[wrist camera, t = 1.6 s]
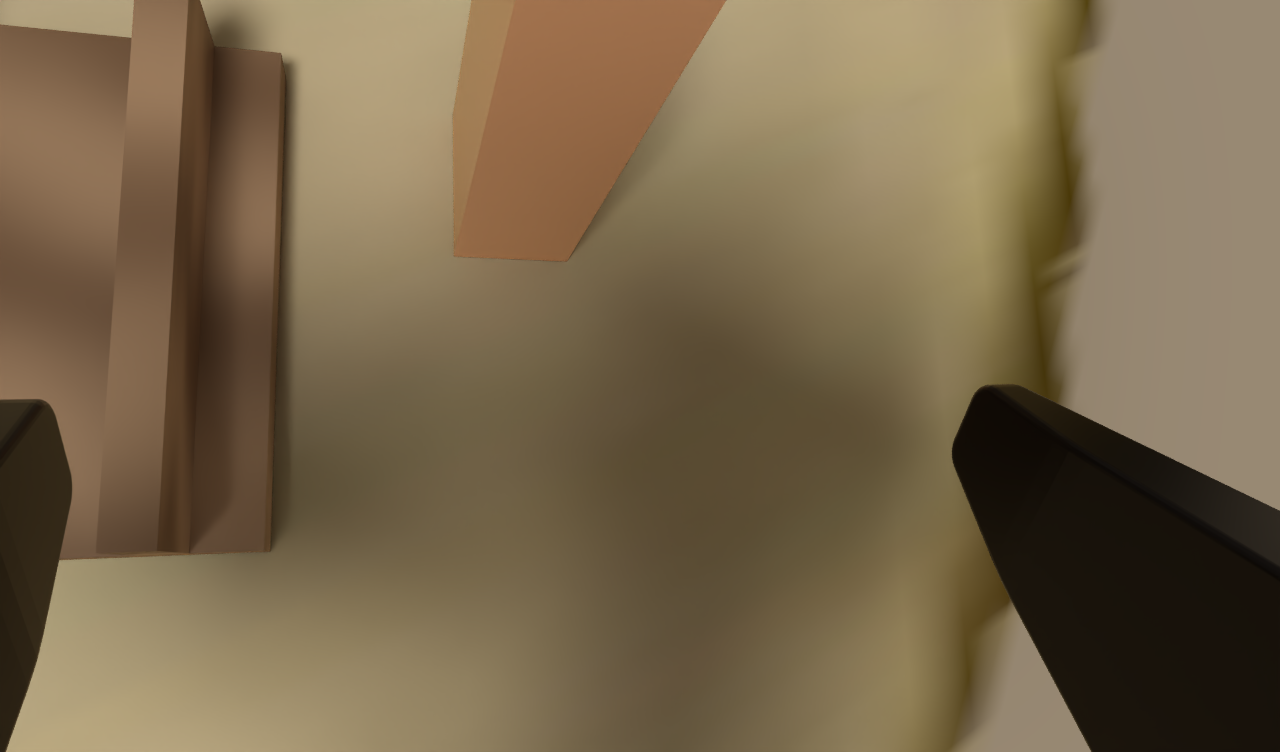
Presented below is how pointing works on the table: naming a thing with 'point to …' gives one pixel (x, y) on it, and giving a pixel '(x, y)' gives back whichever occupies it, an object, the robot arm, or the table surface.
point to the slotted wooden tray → (146, 275)
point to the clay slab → (557, 113)
